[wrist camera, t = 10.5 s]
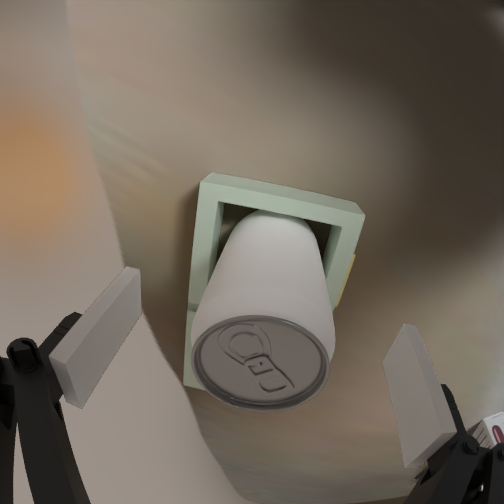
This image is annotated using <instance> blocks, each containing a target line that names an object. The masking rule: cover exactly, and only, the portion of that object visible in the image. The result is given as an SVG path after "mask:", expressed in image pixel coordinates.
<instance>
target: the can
mask: <svg viewBox="0 0 504 504" xmlns="http://www.w3.org/2000/svg"><path fill="white" fill-rule="evenodd" d="M191 343H192V348H193V349H192V352H191V367H192V370H193V373H194V375H195V377H196V379H197V381H198V382H199V384H200V385H201V386H202V387H203V388H204V389H205V390H206V391H207V392H208V393H209V394H210V395H212V396H213V397H214V398H216V399H218V400H219V401H221V402H223V403H225V404H227V405H230V406H232V407H235V408H238V409H242V410H247V411H253V412H277V411H283V410H287V409H291V408H294V407H297V406H299V405H301V404H304V403H305V402H307V401H309V400H310V399H312V398H313V397H314V396H315V395H317V394H318V393H319V392H320V390H321V389H322V388H323V386H324V385H325V383H326V381H327V379H328V376H329V371H330V362H331V359H332V357H333V354H334V350H335V328H334V321H333V315H332V310H331V304H330V299H329V294H328V289H327V284H326V279H325V275H324V270H323V265H322V261H321V256H320V252H319V248H318V244H317V240H316V237H315V235H314V233H313V231H312V229H311V228H310V227H309V225H308V224H307V223H306V222H305V221H304V220H303V219H302V218H300V217H295V216H291V215H286V214H281V213H276V212H271V211H266V210H261V209H260V210H257V211H255V212H253V213H251V214H249V215H247V216H246V217H245V218H243V219H242V220H241V221H240V222H239V223H238V224H237V225H236V226H235V227H234V229H233V230H232V232H231V234H230V236H229V238H228V240H227V243H226V245H225V247H224V249H223V251H222V254H221V256H220V258H219V260H218V262H217V265H216V267H215V269H214V272H213V274H212V276H211V278H210V281H209V283H208V285H207V288H206V290H205V292H204V295H203V297H202V299H201V302H200V304H199V307H198V309H197V312H196V314H195V317H194V320H193V324H192V328H191Z"/></svg>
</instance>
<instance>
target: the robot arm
mask: <svg viewBox="0 0 504 504" xmlns="http://www.w3.org/2000/svg"><path fill="white" fill-rule="evenodd" d="M141 314H142V311H141V273H140V269H136V268H132V267H128V266H126V267H125V268H124V270H123V271H122V272H121V273H120V274H119V275H118V276H117V277H116V278H115V279H114V280H113V282H112V283H111V284H110V285H109V286H108V287H107V288H106V289H105V290H104V291H103V292H102V294H101V295H100V296H99V297H98V298H97V299H96V300H95V301H94V303H93V304H92V305H91V306H90V307H89V308H88V310H87V311H86V312H85V313H84V314H83V315H82V314H79V313H76V312H74V313H72V314H70V315H68V316H66V317H65V318H64V319H63V320H62V321H61V322H60V323H59V325H58V326H57V327H56V328H55V329H54V331H53V332H52V333H51V334H50V335H49V336H48V337H47V338H46V339H45V341H44V342H43V343H42V344H41V345H40V346H39V348H38V347H37V345H36V343H35V342H34V341H33V340H32V339H29V338H19V339H16V340H14V341H13V342H11V343H10V345H9V346H8V348H7V351H6V353H7V355H8V358H9V359H8V358H3V357H0V504H13V466H14V449H15V437H16V427H17V422H18V430H19V436H20V443H21V448H22V454H23V459H24V464H25V469H26V473H27V477H28V481H29V486H30V489H31V493H32V497H33V500H34V504H91V503H90V501H89V498H88V495H87V493H86V490H85V487H84V485H83V482H82V479H81V476H80V473H79V470H78V467H77V464H76V461H75V458H74V455H73V451H72V448H71V444H70V441H69V437H68V434H67V430H66V425H65V422H64V417H63V414H62V409H61V404H60V402H59V399H60V398H61V396H62V395H64V397H65V399H66V402H68V403H70V404H72V405H74V406H77V407H79V408H81V409H82V408H83V407H84V405H85V403H86V402H87V400H88V398H89V397H90V395H91V393H92V391H93V390H94V388H95V387H96V385H97V383H98V382H99V380H100V378H101V377H102V375H103V374H104V371H105V370H106V369H107V367H108V365H109V364H110V362H111V361H112V359H113V357H114V356H115V354H116V353H117V351H118V350H119V348H120V346H121V345H122V343H123V342H124V340H125V339H126V337H127V335H128V334H129V333H130V331H131V330H132V328H133V326H134V325H135V323H136V322H137V320H138V319H139V317H140V316H141ZM382 364H383V368H384V372H385V376H386V380H387V384H388V388H389V392H390V397H391V401H392V405H393V410H394V414H395V419H396V424H397V429H398V434H399V439H400V444H401V449H402V455H403V460H404V466H405V468H412V467H420V466H421V465H422V464H423V463H424V462H426V461H428V467H427V468H426V469H424V470H423V471H422V472H421V473H419V474H418V475H417V476H416V477H415V479H417V478H419V477H420V476H421V477H420V478H419V480H418V482H417V483H416V485H415V487H414V488H413V490H412V491H411V493H410V494H409V496H408V498H407V499H406V501H405V502H404V504H504V443H498V444H496V445H495V446H494V447H493V448H492V449H489V448H485V447H480V444H479V442H478V441H477V439H475V438H474V437H473V436H470V435H467V433H466V430H465V427H464V425H463V422H462V419H461V416H460V413H459V410H457V409H458V408H457V405H456V403H455V400H454V397H453V395H452V392H451V391H450V390H449V388H448V387H447V386H446V385H445V384H440V382H439V379H438V377H437V374H436V372H435V369H434V367H433V364H432V362H431V359H430V357H429V355H428V352H427V350H426V347H425V345H424V343H423V341H422V338H421V336H420V334H419V331H418V329H417V327H416V325H409V324H403V326H402V327H401V329H400V331H399V333H398V335H397V337H396V339H395V340H394V342H393V344H392V346H391V348H390V349H389V351H388V353H387V355H386V357H385V358H384V360H383V362H382ZM482 486H483V489H482Z"/></svg>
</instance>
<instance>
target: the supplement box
mask: <svg viewBox="0 0 504 504" xmlns="http://www.w3.org/2000/svg"><path fill="white" fill-rule="evenodd" d="M472 436H473V437H474V438H475V439H477V441H478V442H479V444H480V447H485V448H489V449H492V448H493V447H494V446H495V445H496V444H498V443H504V411H503V412H500V413H497V414H495V415H492V416H489V417H487V418H484V419H483V420H482V421H481V423H480V424H479V426H478V427H477V429H476V430H475V432H474V433H473V435H472ZM482 489H483V486H482Z"/></svg>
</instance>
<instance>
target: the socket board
mask: <svg viewBox="0 0 504 504" xmlns="http://www.w3.org/2000/svg"><path fill="white" fill-rule="evenodd" d="M225 203H231V204H236V205H241V206H246V207H251V208H256V209H261V210H266V211H271V212H276V213H281V214H286V215H291V216H295V217H300V218H305V219H309V220H314V221H318V222H323V223H327V224H332V227H331V230H330V234H329V237H328V241H327V244H326V248H325V251H324V254H323V258H322V265H323V270H324V275H325V279H326V284H327V289H328V294H329V299H330V304H331V310H332V313H333V311H334V308H335V306H338V304H339V301H340V298H341V296H342V293H343V290H344V288H345V285H346V282H347V279H348V276H349V273H350V271H351V268H352V265H353V262H354V259H355V256H356V255H355V253H354V251H355V248H356V245H357V242H358V239H359V236H360V232H361V229H362V226H363V223H364V219H365V215H364V213H363V212H362V210H361V209H360V208H359V206H358V205H357V204H356V202H352V201H348V200H344V199H340V198H336V197H331V196H327V195H323V194H318V193H314V192H310V191H305V190H301V189H296V188H291V187H287V186H282V185H277V184H272V183H267V182H262V181H257V180H252V179H246V178H241V177H235V176H230V175H224V174H219V173H213V172H212V173H210V174H209V175H208V176H207V177H205V178H204V179H203V180H202V181H200V189H199V197H198V205H197V214H196V222H195V231H194V241H193V251H192V261H191V272H190V283H189V295H188V308H187V322H186V338H185V356H184V378H183V385H185V386H189V387H193V388H197V389H201V390H205V389H204V388H203V387H202V386H201V385H200V384H199V382H198V381H197V379H196V377H195V375H194V373H193V370H192V367H191V352H192V349H193V348H192V343H191V328H192V324H193V320H194V317H195V314H196V312H197V309H198V307H199V304H200V302H201V299H202V297H203V295H204V292H205V290H206V288H207V285H208V283H209V281H210V278H211V276H212V274H213V272H214V269H215V267H216V259H217V252H218V245H219V238H220V231H221V224H222V217H223V211H224V204H225Z"/></svg>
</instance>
